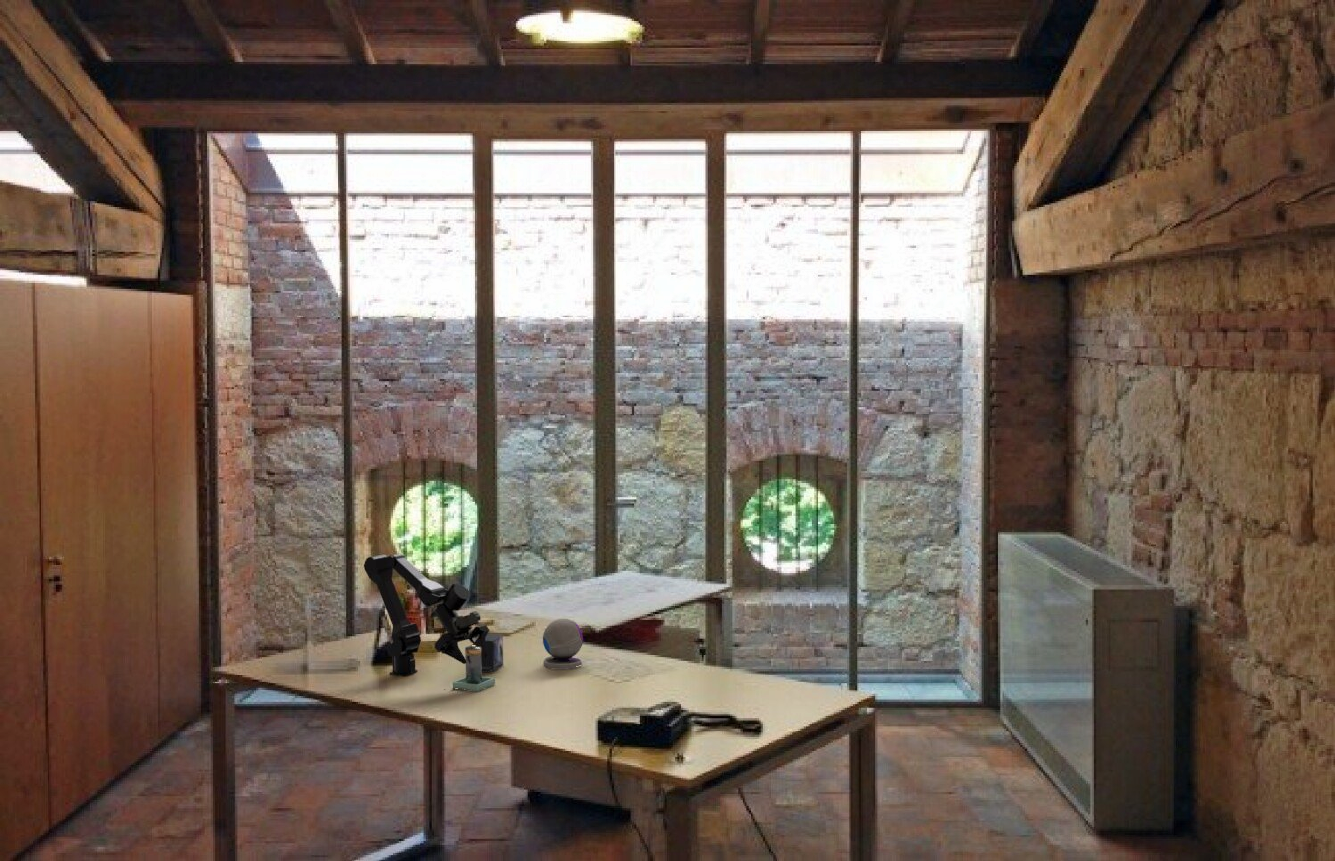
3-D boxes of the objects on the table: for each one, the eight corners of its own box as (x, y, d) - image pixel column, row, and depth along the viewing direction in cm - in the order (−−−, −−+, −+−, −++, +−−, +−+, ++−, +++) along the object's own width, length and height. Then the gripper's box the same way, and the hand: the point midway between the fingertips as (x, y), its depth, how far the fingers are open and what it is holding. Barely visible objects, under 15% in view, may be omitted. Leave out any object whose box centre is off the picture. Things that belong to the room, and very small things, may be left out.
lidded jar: (464, 686, 439) (463, 647, 438) (467, 682, 444) (466, 643, 443) (480, 686, 439) (479, 647, 438) (483, 682, 444) (482, 643, 443)
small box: (494, 673, 458) (493, 640, 457) (474, 672, 459) (473, 640, 458) (504, 665, 468) (503, 633, 467) (485, 664, 469) (484, 632, 469)
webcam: (588, 667, 464) (587, 621, 463) (550, 671, 459) (549, 624, 458) (575, 658, 476) (574, 613, 475) (538, 662, 471) (537, 617, 470)
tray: (452, 688, 439) (452, 682, 439) (469, 681, 447) (469, 675, 447) (478, 691, 435) (478, 685, 435) (495, 684, 443) (494, 678, 443)
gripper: (440, 609, 434) (466, 650, 429) (484, 598, 449) (511, 638, 443) (423, 631, 440) (449, 672, 434) (467, 620, 455) (493, 660, 449)
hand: (476, 660), depth 440 cm, fingers open, 9 cm apart
